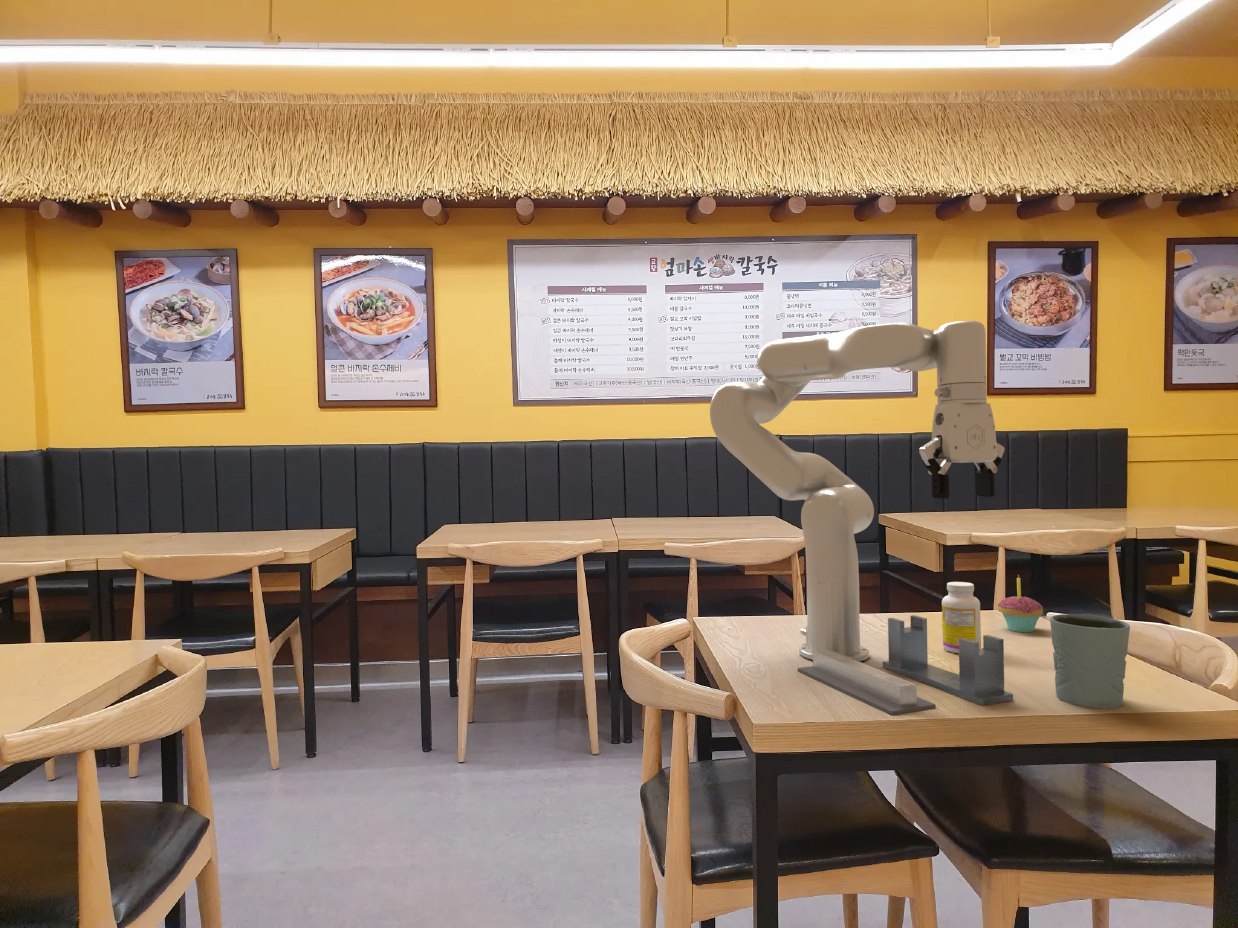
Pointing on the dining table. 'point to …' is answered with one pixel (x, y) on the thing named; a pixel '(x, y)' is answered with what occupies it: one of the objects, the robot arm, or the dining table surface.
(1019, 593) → the cupcake
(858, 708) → the dining table surface
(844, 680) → the rail
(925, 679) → the rack
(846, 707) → the dining table surface
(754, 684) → the dining table surface
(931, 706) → the mat
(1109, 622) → the green planter pot
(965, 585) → the supplement bottle
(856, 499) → the robot arm
